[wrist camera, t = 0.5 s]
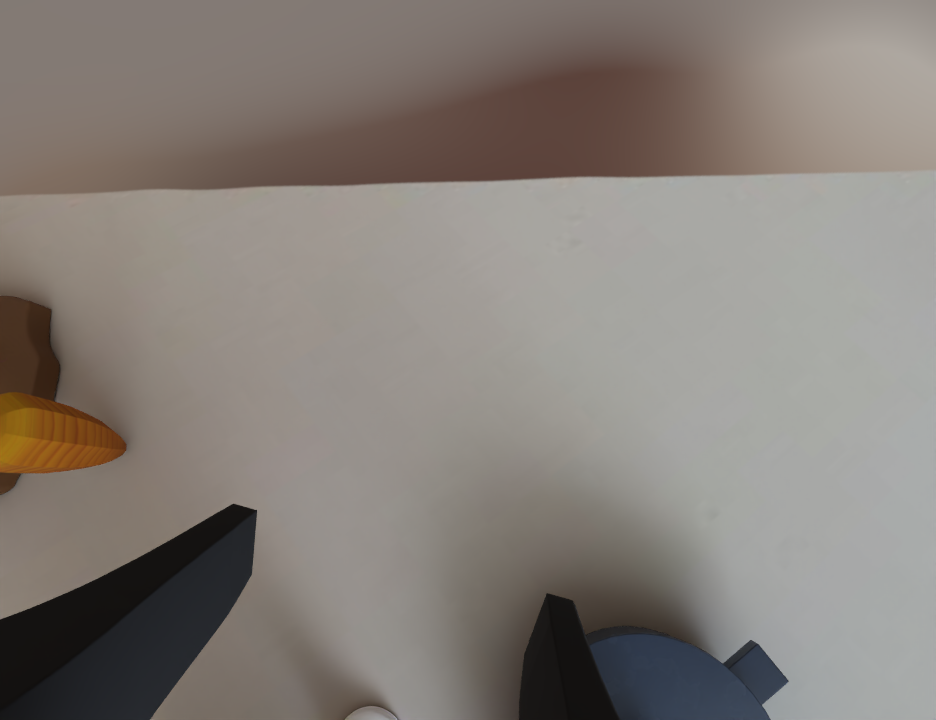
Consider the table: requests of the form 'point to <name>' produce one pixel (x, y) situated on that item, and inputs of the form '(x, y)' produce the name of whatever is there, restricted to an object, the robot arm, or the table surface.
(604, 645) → the pan lid
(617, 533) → the table surface
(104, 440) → the carrot
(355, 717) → the chess piece
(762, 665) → the pan
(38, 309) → the plant
